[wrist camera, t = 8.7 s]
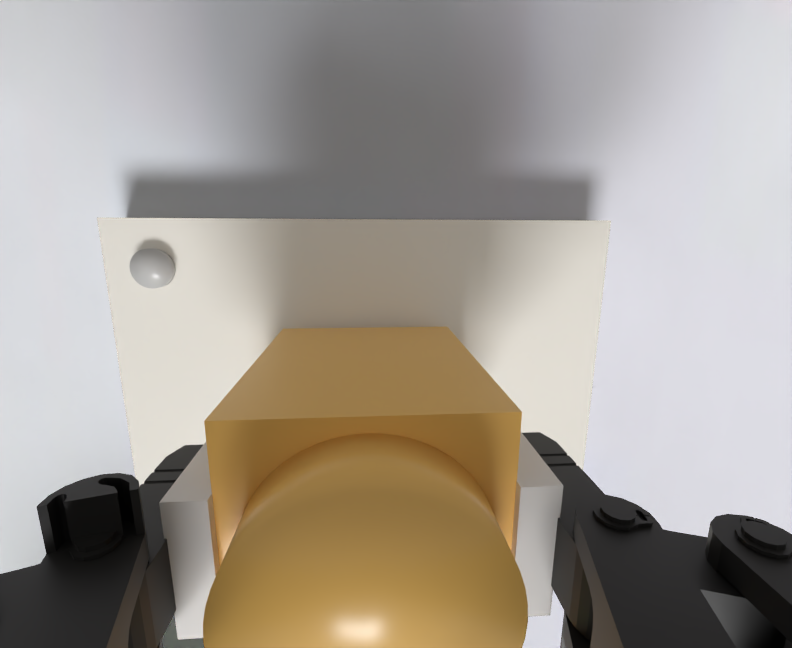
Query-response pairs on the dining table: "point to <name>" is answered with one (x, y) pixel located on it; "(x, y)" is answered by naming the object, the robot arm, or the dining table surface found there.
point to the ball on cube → (365, 496)
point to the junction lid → (349, 307)
